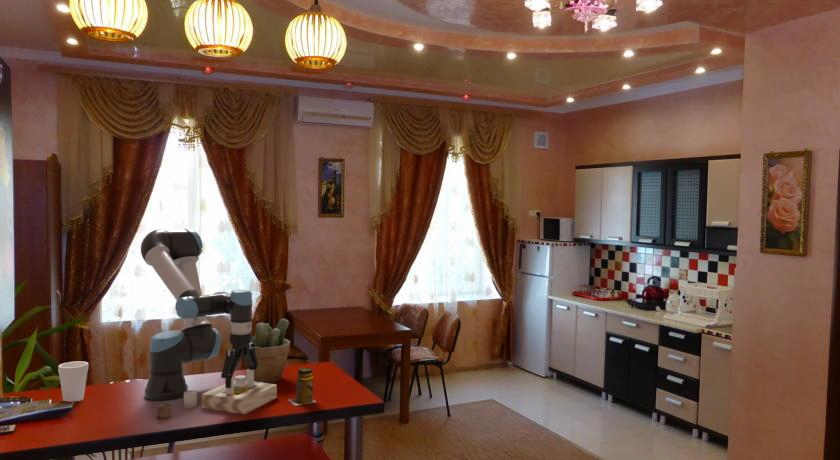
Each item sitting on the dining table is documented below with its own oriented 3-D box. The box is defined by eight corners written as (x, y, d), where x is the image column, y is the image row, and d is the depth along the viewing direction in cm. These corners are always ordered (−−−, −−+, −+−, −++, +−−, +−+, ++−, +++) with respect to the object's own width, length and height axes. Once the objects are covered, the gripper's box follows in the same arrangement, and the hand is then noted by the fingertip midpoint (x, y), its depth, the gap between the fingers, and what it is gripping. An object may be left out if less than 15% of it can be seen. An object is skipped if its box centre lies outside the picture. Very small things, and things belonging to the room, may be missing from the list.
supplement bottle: (248, 399, 225) (248, 374, 225) (247, 404, 220) (247, 378, 219) (233, 400, 224) (233, 374, 224) (232, 405, 219) (232, 378, 218)
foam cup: (72, 394, 227) (72, 360, 226) (93, 397, 225) (94, 362, 224) (52, 402, 217) (52, 367, 217) (74, 405, 215) (74, 368, 215)
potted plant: (265, 388, 239) (266, 326, 238) (234, 380, 249) (234, 320, 248) (298, 378, 254) (299, 319, 253) (267, 371, 265) (268, 314, 264)
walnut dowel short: (153, 418, 203) (153, 407, 203) (163, 414, 208) (163, 403, 207) (164, 420, 202) (164, 408, 202) (173, 416, 206) (173, 404, 206)
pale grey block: (181, 407, 216) (181, 393, 215) (189, 403, 220) (189, 389, 220) (191, 408, 214) (191, 394, 214) (199, 404, 218) (199, 391, 218)
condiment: (316, 402, 224) (317, 370, 223) (295, 406, 219) (295, 373, 219) (309, 397, 230) (309, 365, 230) (287, 400, 225) (288, 368, 225)
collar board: (201, 407, 215) (201, 393, 215) (236, 391, 234) (236, 379, 234) (244, 414, 209) (244, 400, 209) (276, 397, 228) (276, 384, 228)
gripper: (228, 340, 208) (228, 402, 209) (268, 327, 231) (267, 383, 232) (210, 338, 211) (210, 399, 212) (251, 325, 233) (250, 381, 234)
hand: (240, 391), depth 222 cm, fingers open, 12 cm apart
